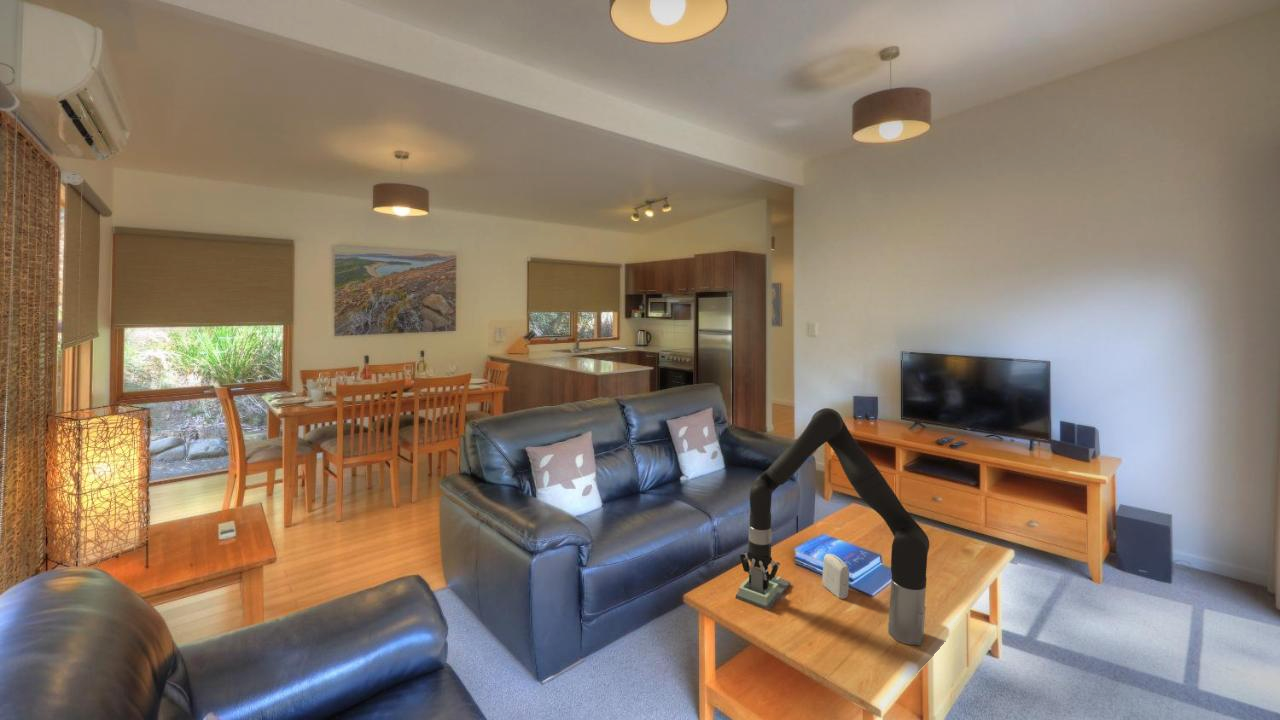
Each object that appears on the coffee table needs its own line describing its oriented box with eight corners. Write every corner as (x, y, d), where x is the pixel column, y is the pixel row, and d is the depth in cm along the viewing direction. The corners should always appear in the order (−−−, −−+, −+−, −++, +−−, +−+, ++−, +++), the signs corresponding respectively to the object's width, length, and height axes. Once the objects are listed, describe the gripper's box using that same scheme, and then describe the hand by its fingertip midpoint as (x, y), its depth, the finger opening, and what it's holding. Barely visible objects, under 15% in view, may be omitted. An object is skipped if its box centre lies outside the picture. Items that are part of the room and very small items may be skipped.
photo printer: (850, 598, 175) (851, 563, 173) (839, 600, 173) (841, 565, 172) (830, 582, 184) (832, 549, 183) (820, 584, 183) (821, 551, 182)
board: (790, 584, 183) (790, 575, 182) (769, 610, 167) (769, 600, 167) (758, 574, 190) (758, 564, 189) (735, 598, 175) (735, 587, 174)
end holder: (777, 592, 176) (778, 584, 176) (766, 606, 168) (766, 597, 168) (750, 582, 182) (751, 574, 181) (738, 595, 174) (738, 587, 173)
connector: (766, 589, 175) (767, 565, 174) (761, 594, 172) (762, 570, 171) (755, 585, 177) (756, 561, 176) (750, 590, 174) (751, 566, 173)
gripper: (784, 540, 171) (783, 588, 173) (745, 529, 180) (744, 575, 182) (776, 549, 165) (774, 598, 167) (735, 537, 174) (734, 584, 176)
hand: (758, 586), depth 174 cm, fingers closed on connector, 4 cm apart
